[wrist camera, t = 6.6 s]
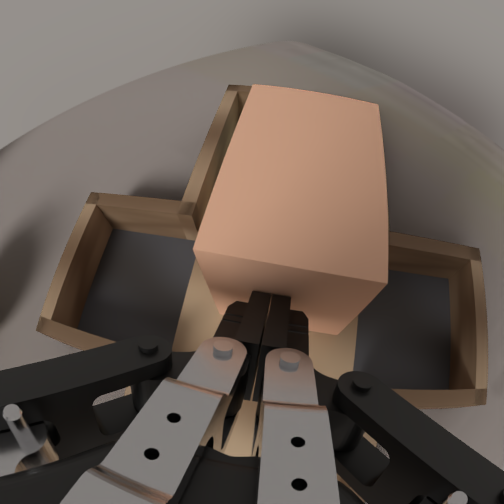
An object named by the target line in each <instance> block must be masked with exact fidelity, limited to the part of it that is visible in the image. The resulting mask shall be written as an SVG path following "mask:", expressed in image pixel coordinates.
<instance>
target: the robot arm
mask: <svg viewBox="0 0 504 504" xmlns="http://www.w3.org/2000/svg"><path fill="white" fill-rule="evenodd" d="M270 298H271V294H269V293H263V292H257V291H252V293H251V296H250V298H249V301H248V303H247V302H241V301H235V302H234V303H232V304H230V305H229V306H228V307H227V310H226V312H225V314H224V316H223V318H222V320H221V322H220V324H219V326H218V328H217V330H216V332H215V334H214V336H213V338H209V339H207V340H205V341H203V342H202V343H201V345H200V346H199V347H198V349H197V350H196V351H192V352H172V346H171V344H170V343H169V341H167V340H166V339H164V338H162V337H160V336H156V335H141V336H137V337H133V338H129V339H126V340H122V341H119V342H115V343H111V344H108V345H104V346H100V347H96V348H93V349H89V350H85V351H81V352H77V353H73V354H69V355H65V356H61V357H57V358H53V359H49V360H45V361H41V362H37V363H32V364H28V365H24V366H19V367H15V368H10V369H6V370H1V371H0V504H365V503H364V502H363V501H362V500H361V499H360V498H359V497H358V496H357V495H356V494H355V493H354V492H353V491H352V490H351V489H350V488H348V487H347V486H346V485H344V484H343V483H341V482H340V481H338V480H337V474H338V475H339V476H340V477H341V478H342V479H343V480H344V481H345V482H346V483H347V484H348V485H349V486H350V487H351V488H352V489H353V490H354V491H355V492H356V493H357V494H358V495H359V496H360V497H361V498H362V499H363V500H364V501H366V502H367V503H368V504H504V471H503V470H501V469H500V468H499V467H497V466H496V465H494V464H493V463H491V462H490V461H489V460H487V459H486V458H484V457H483V456H482V455H480V454H479V453H477V452H476V451H475V450H473V449H472V448H470V447H469V446H468V445H466V444H465V443H464V442H462V441H461V440H459V439H458V438H457V437H455V436H454V435H452V434H451V433H450V432H448V431H447V430H446V429H444V428H443V427H442V426H440V425H439V424H437V423H436V422H435V421H433V420H432V419H431V418H429V417H428V416H427V415H425V414H424V413H423V412H421V411H420V410H419V409H417V408H416V407H415V406H413V405H412V404H411V403H409V402H408V401H407V400H405V399H404V398H403V397H401V396H400V395H399V394H397V393H396V392H395V391H393V390H392V389H391V388H389V387H388V386H387V385H385V384H384V383H383V382H381V381H380V380H379V379H377V378H376V377H374V376H373V375H371V374H368V373H365V372H361V371H350V372H346V373H344V374H342V375H341V376H340V377H339V379H338V380H337V379H334V378H331V377H328V376H326V375H323V374H321V373H320V372H318V371H317V370H316V369H314V368H313V362H312V360H311V358H310V357H309V335H308V334H309V328H308V327H309V319H308V318H307V316H306V315H305V314H304V312H303V311H297V310H290V306H291V297H288V296H282V295H275V294H273V295H272V299H271V304H270ZM269 305H270V308H269ZM268 311H269V313H268ZM256 373H257V375H256ZM255 377H256V381H255ZM254 382H255V387H254V393H253V399H252V401H255V402H258V403H257V408H256V414H255V419H254V427H253V437H252V447H251V456H248V457H234V456H229V455H226V454H224V451H225V449H226V446H227V444H228V441H229V439H230V436H231V434H232V431H233V429H234V426H235V424H236V421H237V418H238V414H239V410H240V409H241V407H242V403H243V400H249V401H250V399H251V395H252V390H253V386H254ZM128 386H130V387H131V393H132V394H129V395H126V396H123V397H120V398H117V399H114V400H111V401H108V402H105V403H101V404H98V405H95V406H92V405H93V402H94V400H95V399H96V398H97V397H99V396H101V395H104V394H107V393H110V392H113V391H116V390H119V389H122V388H125V387H128ZM365 432H366V433H367V434H368V435H369V436H370V437H372V438H373V439H374V440H375V441H376V442H377V443H378V444H380V445H381V446H382V447H383V448H384V449H385V450H386V451H387V452H388V454H389V457H390V459H388V458H387V457H386V456H385V455H384V454H383V453H382V452H380V451H379V450H378V449H377V448H376V447H375V446H374V445H372V444H371V443H370V442H369V441H368V440H367V439H366V438H365V437H363V435H364V433H365ZM336 473H337V474H336Z"/></svg>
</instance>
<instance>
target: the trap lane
mask: <svg viewBox="0 0 504 504" xmlns="http://www.w3.org/2000/svg"><path fill="white" fill-rule="evenodd" d="M251 88H252V86H243V85H229V86H228V88H227V90H226V92H225V95H224V97H223V99H222V101H221V104H220V106H219V108H218V110H217V113H216V115H215V117H214V120H213V122H212V124H211V127H210V129H209V132H208V134H207V136H206V139H205V141H204V144H203V146H202V149H201V151H200V154H199V156H198V159H197V161H196V164H195V166H194V169H193V172H192V174H191V177H190V179H189V182H188V185H187V187H186V190H185V193H184V196H183V198H182V201H177V200H167V199H158V198H148V197H138V196H128V195H117V194H106V193H94V192H91V193H90V195H89V197H88V199H87V201H86V203H85V205H84V208H83V210H82V212H81V214H80V216H79V218H78V220H77V222H76V225H75V227H74V229H73V231H72V233H71V236H70V238H69V240H68V243H67V245H66V247H65V250H64V252H63V255H62V257H61V259H60V262H59V264H58V267H57V270H56V272H55V275H54V277H53V280H52V283H51V286H50V288H49V291H48V294H47V297H46V300H45V303H44V306H43V309H42V312H41V315H40V318H39V321H38V325H37V328H36V331H38V332H40V333H42V334H44V335H47V336H49V337H51V338H53V339H56V340H58V341H60V342H62V343H65V344H67V345H70V346H72V347H75V348H78V349H80V350H83V351H85V350H89V349H93V348H96V347H100V346H104V345H108V344H111V343H115V342H119V341H122V340H126V339H129V338H133V337H137V336H141V335H156V336H160V337H162V338H164V339H166V340H167V341H169V343H170V344H171V346H172V352H192V351H196V350H197V349H198V347H199V346H200V345H201V343H202V342H203V341H205V340H207V339H209V338H213V336H214V334H215V332H216V330H217V328H218V326H219V324H220V322H221V320H222V318H223V316H224V315H222V314H219V312H218V309H217V307H216V305H215V302H214V300H213V297H212V295H211V293H210V290H209V288H208V286H207V283H206V281H205V278H204V276H203V273H202V271H201V269H200V266H199V264H198V261H197V259H196V256H195V254H194V251H193V247H194V244H195V241H196V238H197V234H198V231H199V228H200V225H201V223H202V220H203V217H204V214H205V211H206V208H207V205H208V202H209V199H210V196H211V193H212V191H213V188H214V185H215V182H216V179H217V177H218V174H219V171H220V168H221V166H222V163H223V160H224V157H225V155H226V152H227V149H228V147H229V144H230V141H231V139H232V136H233V133H234V131H235V128H236V126H237V123H238V120H239V118H240V115H241V113H242V110H243V108H244V105H245V103H246V100H247V98H248V95H249V93H250V90H251ZM387 205H388V200H387ZM308 335H309V357H310V358H311V360H312V362H313V368H314V369H316V370H317V371H318V372H320V373H321V374H323V375H326V376H328V377H331V378H334V379H337V380H338V379H339V377H340V376H341V375H342V374H344V373H346V372H350V371H361V372H365V373H368V374H371V375H373V376H374V377H376V378H377V379H379V380H380V381H381V382H383V383H384V384H385V385H387V386H388V387H389V388H391V389H392V390H393V391H395V392H396V393H397V394H399V395H400V396H401V397H403V398H404V399H405V400H407V401H408V402H409V403H411V404H412V405H413V406H415V407H416V408H417V409H442V408H459V407H469V406H477V405H485V404H486V397H487V378H488V330H487V312H486V299H485V288H484V279H483V271H482V264H481V257H480V251H479V249H478V248H473V247H469V246H464V245H459V244H454V243H449V242H444V241H439V240H434V239H429V238H424V237H418V236H413V235H408V234H402V233H397V232H391V231H389V214H388V284H387V285H386V286H385V287H384V288H383V289H382V290H381V291H380V292H379V293H378V295H377V296H376V297H375V298H374V299H373V300H372V301H371V302H370V303H369V304H368V305H367V306H366V307H365V308H364V309H363V310H362V311H361V312H360V313H359V314H358V315H357V316H356V317H355V318H354V319H353V320H352V321H351V322H350V323H349V324H348V325H347V326H346V327H345V328H344V329H343V330H342V331H341V332H340V333H339V334H338V335H332V334H326V333H320V332H313V331H309V334H308ZM256 375H257V373H256ZM255 381H256V377H255ZM254 387H255V382H254V386H253V390H252V395H251V399H250V401H249V400H243V403H242V407H241V409H240V410H239V414H238V418H237V421H236V424H235V426H234V429H233V431H232V434H231V436H230V439H229V441H228V444H227V446H226V449H225V451H224V454H226V455H229V456H234V457H248V456H251V447H252V437H253V427H254V419H255V414H256V408H257V403H258V402H255V401H252V399H253V393H254ZM129 394H132V393H131V387H130V386H128V387H126V390H125V394H124V396H126V395H129ZM363 437H365V438H366V439H367V440H368V441H369V442H370V443H371V444H372V445H374V446H375V447H376V446H377V442H376V441H375V440H374V439H373V438H372V437H370V436H369V435H368V434H367V433H366V432H365V433H364V435H363ZM336 474H337V473H336ZM337 480H338V481H340V482H341V483H343V484H344V485H346V486H347V487H348V488H350V489H351V490H352V491H353V492H354V493H355V494H356V495H357V496H358V497H359V498H360V499H361V500H362V501H363V502H365V501H364V500H363V499H362V498H361V497H360V496H359V495H358V494H357V493H356V492H355V491H354V490H353V489H352V488H351V487H350V486H349V485H348V484H347V483H346V482H345V481H344V480H343V479H342V478H341V477H340V476H339V475H338V474H337Z"/></svg>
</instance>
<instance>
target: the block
mask: <svg viewBox="0 0 504 504" xmlns="http://www.w3.org/2000/svg"><path fill="white" fill-rule="evenodd" d="M193 251H194V254H195V256H196V259H197V261H198V264H199V266H200V269H201V271H202V273H203V276H204V278H205V281H206V283H207V286H208V288H209V290H210V293H211V295H212V297H213V300H214V302H215V305H216V307H217V309H218V312H219V314H222V315H224V314H225V312H226V310H227V307H228V306H229V305H230V304H232V303H234V302H235V301H241V302H247V303H248V301H249V298H250V296H251V293H252V291H257V292H263V293H269V294H271V298H270V304H271V299H272V295H273V294H275V295H282V296H288V297H291V306H290V310H297V311H303V312H304V314H305V315H306V316H307V318H308V319H309V327H308V328H309V331H313V332H320V333H326V334H332V335H338V334H339V333H340V332H341V331H342V330H343V329H344V328H345V327H346V326H347V325H348V324H349V323H350V322H351V321H352V320H353V319H354V318H355V317H356V316H357V315H358V314H359V313H360V312H361V311H362V310H363V309H364V308H365V307H366V306H367V305H368V304H369V303H370V302H371V301H372V300H373V299H374V298H375V297H376V296H377V295H378V293H379V292H380V291H381V290H382V289H383V288H384V287H385V286H386V285H387V284H388V205H387V185H386V171H385V158H384V147H383V138H382V129H381V121H380V113H379V106H378V104H374V103H370V102H366V101H361V100H356V99H352V98H347V97H342V96H336V95H331V94H325V93H319V92H313V91H307V90H300V89H293V88H285V87H276V86H267V85H257V84H253V85H252V88H251V90H250V93H249V95H248V98H247V100H246V103H245V105H244V108H243V110H242V113H241V115H240V118H239V120H238V123H237V126H236V128H235V131H234V133H233V136H232V139H231V141H230V144H229V147H228V149H227V152H226V155H225V157H224V160H223V163H222V166H221V168H220V171H219V174H218V177H217V179H216V182H215V185H214V188H213V191H212V193H211V196H210V199H209V202H208V205H207V208H206V211H205V214H204V217H203V220H202V223H201V225H200V228H199V231H198V234H197V238H196V241H195V244H194V247H193ZM269 308H270V305H269ZM268 313H269V311H268Z"/></svg>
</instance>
